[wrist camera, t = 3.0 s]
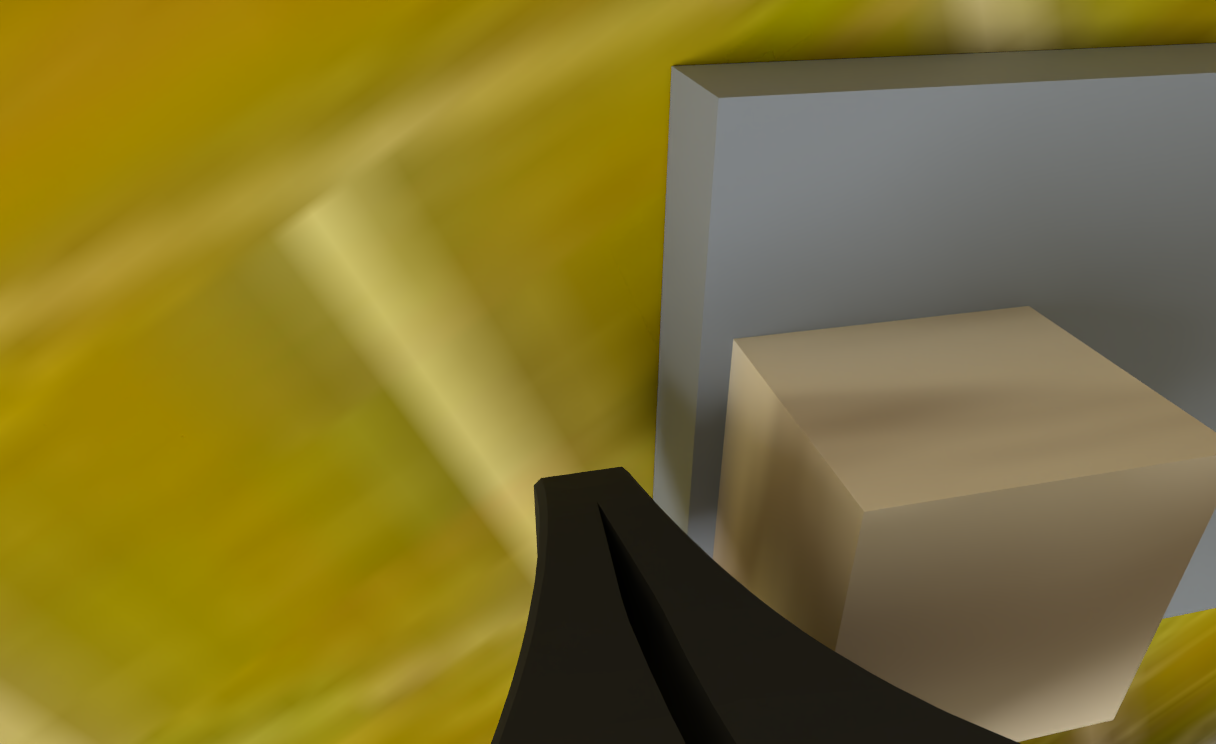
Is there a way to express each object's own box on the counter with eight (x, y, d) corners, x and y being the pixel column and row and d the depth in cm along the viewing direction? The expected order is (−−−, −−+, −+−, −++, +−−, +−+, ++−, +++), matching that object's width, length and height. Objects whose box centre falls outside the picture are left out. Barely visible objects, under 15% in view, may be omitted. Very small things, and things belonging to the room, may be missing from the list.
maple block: (959, 542, 16) (1113, 720, 13) (710, 586, 15) (805, 790, 12) (1028, 305, 14) (1243, 450, 10) (733, 339, 13) (863, 511, 9)
